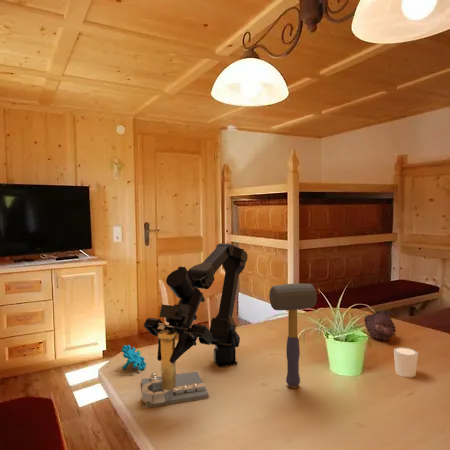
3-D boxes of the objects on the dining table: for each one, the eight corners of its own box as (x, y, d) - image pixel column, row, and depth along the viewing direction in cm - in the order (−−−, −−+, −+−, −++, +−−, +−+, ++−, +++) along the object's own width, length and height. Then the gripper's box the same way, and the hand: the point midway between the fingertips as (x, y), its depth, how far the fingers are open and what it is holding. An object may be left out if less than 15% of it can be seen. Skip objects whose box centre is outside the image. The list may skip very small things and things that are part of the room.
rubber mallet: (307, 378, 113) (307, 280, 112) (318, 389, 106) (318, 285, 105) (268, 382, 110) (267, 282, 109) (277, 395, 103) (276, 287, 102)
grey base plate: (197, 374, 116) (197, 371, 116) (208, 397, 102) (208, 394, 102) (141, 382, 112) (141, 379, 112) (145, 407, 97) (145, 404, 97)
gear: (141, 371, 116) (120, 347, 117) (128, 384, 116) (107, 360, 117) (152, 361, 127) (132, 339, 128) (139, 373, 127) (120, 351, 128)
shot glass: (417, 370, 117) (417, 348, 117) (418, 379, 111) (418, 356, 111) (393, 367, 120) (393, 345, 120) (393, 375, 114) (393, 353, 114)
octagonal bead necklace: (196, 371, 116) (196, 364, 116) (208, 395, 101) (207, 386, 101) (140, 379, 111) (139, 371, 111) (143, 405, 97) (143, 396, 97)
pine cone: (356, 331, 155) (356, 308, 154) (378, 330, 156) (378, 306, 156) (381, 347, 137) (381, 320, 137) (405, 345, 139) (405, 318, 138)
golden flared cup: (176, 381, 98) (175, 328, 98) (179, 389, 94) (178, 334, 93) (158, 383, 97) (157, 330, 97) (160, 392, 93) (158, 336, 92)
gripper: (146, 288, 102) (120, 341, 93) (206, 294, 94) (184, 353, 84) (164, 309, 109) (141, 360, 100) (220, 316, 101) (201, 373, 92)
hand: (165, 361), depth 94 cm, fingers closed on golden flared cup, 4 cm apart
